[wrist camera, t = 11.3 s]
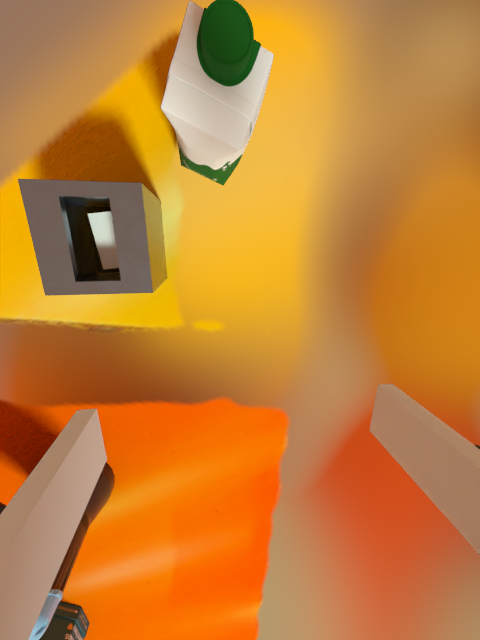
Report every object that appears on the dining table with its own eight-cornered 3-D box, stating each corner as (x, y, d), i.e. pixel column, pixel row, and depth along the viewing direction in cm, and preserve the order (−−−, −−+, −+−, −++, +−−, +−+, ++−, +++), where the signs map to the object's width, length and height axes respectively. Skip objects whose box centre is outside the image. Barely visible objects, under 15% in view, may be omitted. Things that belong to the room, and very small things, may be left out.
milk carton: (247, 134, 38) (291, 30, 19) (226, 194, 40) (247, 153, 21) (192, 104, 36) (181, -45, 17) (172, 169, 38) (144, 100, 19)
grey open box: (167, 277, 43) (152, 292, 31) (92, 279, 41) (45, 295, 29) (160, 201, 39) (141, 183, 27) (77, 199, 38) (17, 178, 25)
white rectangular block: (109, 218, 39) (87, 213, 31) (129, 216, 39) (112, 211, 32) (121, 264, 41) (103, 269, 34) (140, 262, 41) (126, 266, 34)
